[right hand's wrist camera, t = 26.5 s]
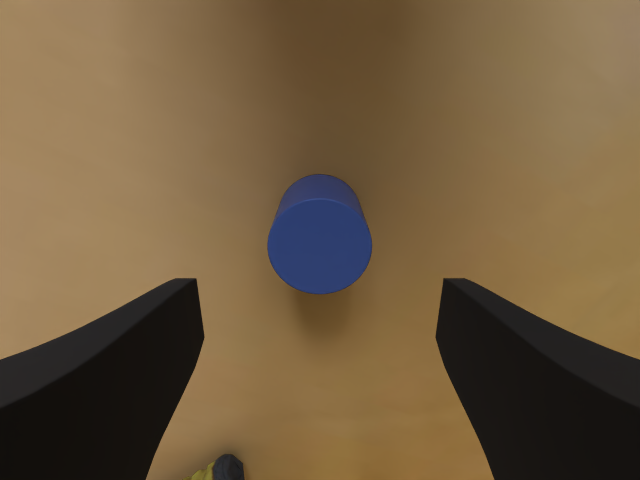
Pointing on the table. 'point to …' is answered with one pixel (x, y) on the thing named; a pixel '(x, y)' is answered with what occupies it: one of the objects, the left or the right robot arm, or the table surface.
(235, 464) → the toy gun
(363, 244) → the canister
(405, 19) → the table surface
